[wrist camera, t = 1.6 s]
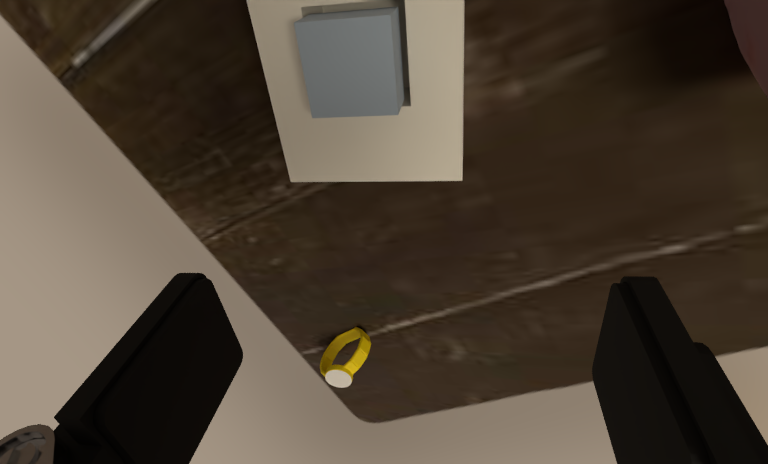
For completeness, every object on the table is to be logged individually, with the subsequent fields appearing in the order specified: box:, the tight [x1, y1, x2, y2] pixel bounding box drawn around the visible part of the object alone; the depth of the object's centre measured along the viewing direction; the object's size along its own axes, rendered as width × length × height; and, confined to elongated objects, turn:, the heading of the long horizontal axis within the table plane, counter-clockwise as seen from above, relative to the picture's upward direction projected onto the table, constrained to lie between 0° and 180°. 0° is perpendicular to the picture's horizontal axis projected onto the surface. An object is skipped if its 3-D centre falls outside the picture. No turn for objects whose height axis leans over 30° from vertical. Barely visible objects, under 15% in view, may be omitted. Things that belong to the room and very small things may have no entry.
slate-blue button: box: [294, 7, 404, 118], centre depth 24 cm, size 5×5×3 cm
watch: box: [320, 327, 371, 388], centre depth 45 cm, size 6×3×6 cm, turn 130°
